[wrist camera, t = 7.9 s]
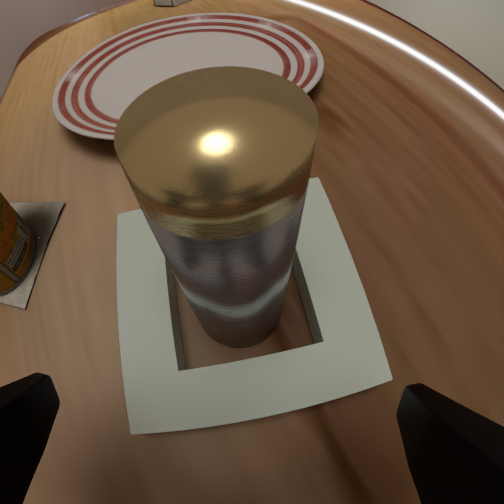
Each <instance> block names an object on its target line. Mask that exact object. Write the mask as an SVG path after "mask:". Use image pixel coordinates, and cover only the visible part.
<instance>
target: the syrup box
mask: <svg viewBox="0 0 504 504" xmlns="http://www.w3.org/2000/svg"><path fill="white" fill-rule="evenodd" d="M189 1H191V0H154V5H155V6H170V7H175V6H178V5H181V4H184V3H186V2H189Z"/></svg>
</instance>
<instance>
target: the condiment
mask: <svg viewBox="0 0 504 504" xmlns="http://www.w3.org/2000/svg"><path fill="white" fill-rule="evenodd" d="M64 202H65V201H58V202H43V203H25V202H24V203H23V202H20V203H15V202H8V201H7V200H6V199H5V198H4V196H3V195H2V194H1V193H0V303H4V304H8V305H12V306H15V307H19V308H22V309H25V307H26V303H27V300H28V298H29V295H30V292H31V289H32V286H33V284H34V279H35V277H36V275H37V272H38V269H39V267H40V262H41V261H42V258H43V254H44V251H45V249H46V245H47V242H48V239H49V238H50V236H51V233H52V230H53V228H54V226H55V224H56V222H57V219H58V216H59V213H60V210H61V209H62V207H63V204H64ZM39 237H40V239H38V238H39Z"/></svg>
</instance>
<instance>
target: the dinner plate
mask: <svg viewBox="0 0 504 504" xmlns="http://www.w3.org/2000/svg"><path fill="white" fill-rule="evenodd" d="M220 66H237V67H248V68H255V69H260V70H264V71H268V72H271V73H274V74H277V75H279V76H282V77H284V78H286V79H288V80H290V81H291V82H293V83H295V84H296V85H298V86H299V87H300V88H301V89H303V90H304V91H305V92H306V93H309V92H310V91H311V90H312V89H313V88H314V87H315V85H316V84H317V83H318V82H319V80H320V78H321V76H322V74H323V70H324V59H323V56H322V53H321V52H320V50H319V48H318V47H317V46H316V45H315V43H314V42H313V41H312V40H310V39H309V38H308V37H307V36H305V35H304V34H303V33H301V32H299V31H298V30H296V29H294V28H292V27H290V26H288V25H285V24H283V23H280V22H277V21H274V20H270V19H266V18H262V17H258V16H252V15H245V14H235V13H200V14H189V15H181V16H175V17H170V18H165V19H161V20H157V21H153V22H149V23H145V24H142V25H139V26H137V27H134V28H131V29H129V30H126V31H124V32H122V33H119V34H117V35H115V36H113V37H111V38H109V39H107V40H106V41H104V42H102V43H101V44H99V45H97V46H96V47H94V48H93V49H91V50H90V51H89V52H87V53H86V54H85V55H83V56H82V57H81V58H80V59H79V60H77V61H76V62H75V63H74V64H73V65H72V66H71V67H70V68H69V69H68V71H67V72H66V73H65V74H64V75H63V77H62V78H61V80H60V81H59V83H58V85H57V87H56V89H55V92H54V95H53V100H52V108H53V113H54V115H55V117H56V118H57V120H58V121H59V122H60V123H61V124H62V125H63V126H64V127H66V128H67V129H69V130H71V131H73V132H75V133H77V134H80V135H84V136H87V137H91V138H98V139H105V140H114V133H115V129H116V126H117V123H118V121H119V119H120V117H121V115H122V114H123V112H124V111H125V110H126V108H127V107H128V106H129V105H130V104H131V103H132V102H133V101H134V100H135V99H136V98H137V97H138V96H139V95H141V94H142V93H143V92H145V91H146V90H148V89H149V88H151V87H152V86H154V85H156V84H158V83H160V82H162V81H164V80H166V79H168V78H171V77H173V76H176V75H179V74H182V73H185V72H189V71H193V70H197V69H203V68H209V67H220Z"/></svg>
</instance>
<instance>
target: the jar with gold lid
mask: <svg viewBox="0 0 504 504" xmlns="http://www.w3.org/2000/svg"><path fill="white" fill-rule="evenodd" d="M318 127H319V117H318V112H317V109H316V107H315V104H314V103H313V101H312V100H311V98H310V97H309V96H308V94H307V93H306V92H305V91H304V90H303V89H301V88H300V87H299V86H298V85H296V84H295V83H293V82H291V81H290V80H288V79H286V78H284V77H282V76H279V75H277V74H274V73H271V72H268V71H264V70H260V69H255V68H248V67H237V66H220V67H209V68H203V69H197V70H193V71H189V72H185V73H182V74H179V75H176V76H173V77H171V78H168V79H166V80H164V81H162V82H160V83H158V84H156V85H154V86H152V87H151V88H149V89H148V90H146V91H145V92H143V93H142V94H141V95H139V96H138V97H137V98H136V99H135V100H134V101H133V102H132V103H131V104H130V105H129V106H128V107H127V108H126V110H125V111H124V112H123V114H122V115H121V117H120V119H119V121H118V123H117V126H116V129H115V133H114V148H115V151H116V154H117V156H118V159H119V161H120V163H121V166H122V168H123V170H124V172H125V175H126V177H127V179H128V181H129V184H130V186H131V188H132V190H133V192H134V195H135V197H136V199H137V201H138V203H139V205H140V207H141V210H142V212H143V214H144V216H145V218H146V220H147V222H148V224H149V226H150V228H151V230H152V232H153V234H154V236H155V238H156V240H157V242H158V244H159V246H160V248H161V250H162V252H163V254H164V256H165V258H166V260H167V262H168V264H169V266H170V268H171V270H172V272H173V274H174V276H175V277H176V279H177V281H178V283H179V285H180V287H181V289H182V291H183V292H184V294H185V296H186V298H187V300H188V302H189V303H190V305H191V307H192V309H193V311H194V312H195V314H196V316H197V318H198V320H199V321H200V323H201V325H202V327H203V328H204V330H205V331H206V333H207V334H208V335H209V336H210V337H211V338H212V339H214V340H215V341H217V342H218V343H220V344H223V345H225V346H228V347H234V348H244V347H250V346H253V345H256V344H258V343H260V342H262V341H263V340H265V339H266V338H267V337H269V336H270V335H271V334H272V332H273V331H274V330H275V328H276V327H277V325H278V322H279V320H280V316H281V312H282V308H283V303H284V299H285V294H286V290H287V285H288V281H289V276H290V272H291V267H292V262H293V258H294V253H295V248H296V243H297V239H298V234H299V229H300V224H301V219H302V214H303V209H304V204H305V198H306V193H307V188H308V183H309V177H310V172H311V167H312V161H313V156H314V150H315V144H316V138H317V133H318Z"/></svg>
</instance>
